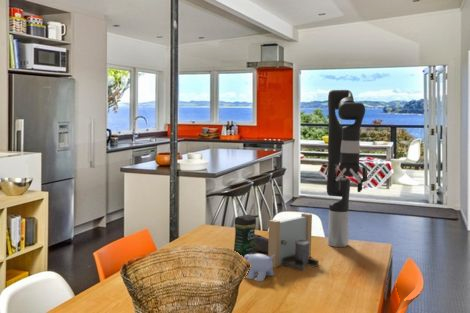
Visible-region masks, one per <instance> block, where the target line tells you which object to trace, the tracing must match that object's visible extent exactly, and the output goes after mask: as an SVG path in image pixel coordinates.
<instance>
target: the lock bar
mask: <svg viewBox="0 0 470 313" xmlns="http://www.w3.org/2000/svg"><path fill="white" fill-rule="evenodd" d="M295 243H296V248H295V263H297V264H300V265H303V267H304V266H306V265H309V258H310V257H309V243H310V241H306V240H302V239H301V240H297V241H295Z"/></svg>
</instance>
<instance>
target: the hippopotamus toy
mask: <svg viewBox="0 0 470 313" xmlns="http://www.w3.org/2000/svg"><path fill="white" fill-rule="evenodd" d="M273 256H275V255H272V256H271V257H268V255H266V254H263V253H255V254H250V255H249V254H247V255H245V256H244V258H245V259H246V260H248V261H249V263H250V264H251V267H250V268H249V269H250V270H249V269H248V270H249V271H248V274H247V275H245V278H246V279H249V280H254V281H257V282H264V280H265V277H266V276H268V277H271V276H272V277H273V276H275V272H274V269H273V268H274V267H273V262H272V258H273Z"/></svg>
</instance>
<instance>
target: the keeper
mask: <svg viewBox="0 0 470 313" xmlns="http://www.w3.org/2000/svg"><path fill="white" fill-rule="evenodd" d="M282 266H285V267H288V268H291V269H294V270H297V271H301V272H302V271H306V270H308V269H311V268H314V267H317V266H319V260H318V259H314V258H310V257H309V265H306V266H304V267H303V265H300V264H297V263H295V255H291V256H288V257H285V258H283V264H282Z"/></svg>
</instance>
